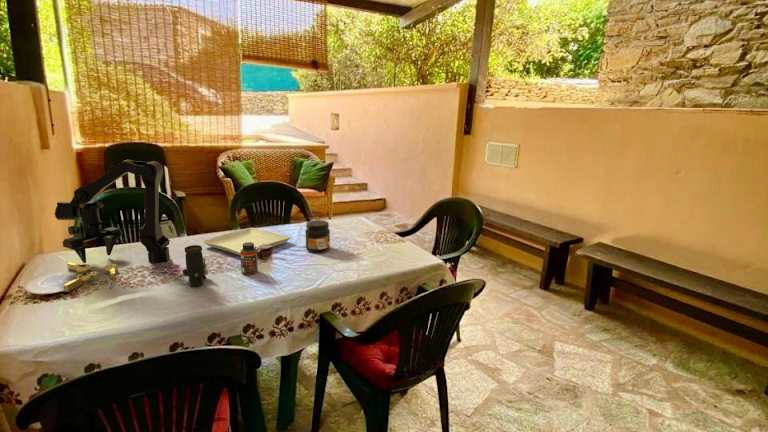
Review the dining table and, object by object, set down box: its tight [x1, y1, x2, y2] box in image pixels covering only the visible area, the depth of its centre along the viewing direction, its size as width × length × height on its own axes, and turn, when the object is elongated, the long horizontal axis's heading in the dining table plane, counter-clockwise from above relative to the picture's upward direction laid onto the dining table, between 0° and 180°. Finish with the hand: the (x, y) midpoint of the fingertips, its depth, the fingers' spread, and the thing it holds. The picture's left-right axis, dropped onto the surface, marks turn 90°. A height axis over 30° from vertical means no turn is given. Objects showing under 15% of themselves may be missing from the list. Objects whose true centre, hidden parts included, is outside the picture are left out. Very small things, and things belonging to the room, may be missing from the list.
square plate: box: [202, 227, 292, 256], centre depth 189 cm, size 27×27×4 cm
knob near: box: [104, 263, 119, 281], centre depth 152 cm, size 10×4×3 cm, turn 35°
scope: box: [182, 244, 209, 289], centre depth 148 cm, size 8×14×10 cm
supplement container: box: [304, 219, 331, 254], centre depth 185 cm, size 10×10×12 cm
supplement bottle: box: [239, 242, 259, 276], centre depth 159 cm, size 6×6×11 cm
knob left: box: [62, 273, 93, 293], centre depth 143 cm, size 10×4×3 cm, turn 176°
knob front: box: [66, 261, 92, 275], centre depth 154 cm, size 10×4×3 cm, turn 65°
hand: (96, 258), depth 163 cm, fingers open, 9 cm apart
